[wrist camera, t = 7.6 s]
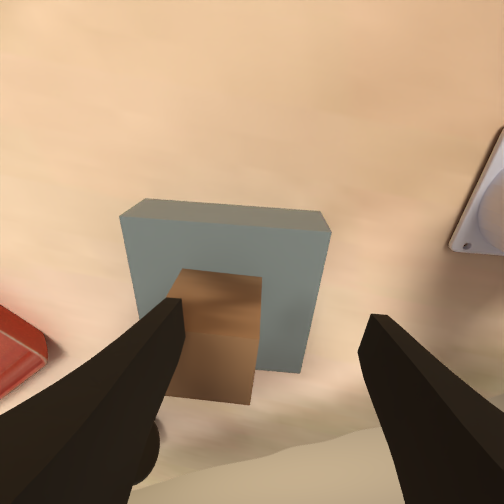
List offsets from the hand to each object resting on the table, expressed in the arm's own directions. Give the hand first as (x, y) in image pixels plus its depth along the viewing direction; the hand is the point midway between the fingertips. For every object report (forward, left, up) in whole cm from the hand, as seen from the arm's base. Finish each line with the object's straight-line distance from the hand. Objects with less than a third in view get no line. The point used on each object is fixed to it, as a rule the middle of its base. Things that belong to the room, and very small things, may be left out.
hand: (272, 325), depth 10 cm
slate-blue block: (+3, +4, -10) cm, 11 cm away
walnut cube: (+3, +4, -6) cm, 8 cm away
